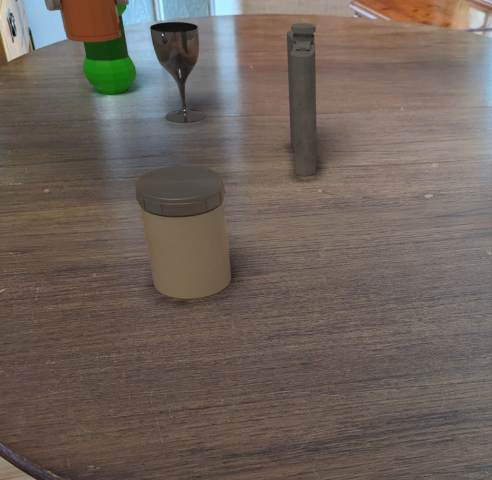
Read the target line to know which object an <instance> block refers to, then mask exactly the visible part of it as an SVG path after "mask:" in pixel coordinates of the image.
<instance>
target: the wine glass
mask: <svg viewBox="0 0 492 480" xmlns="http://www.w3.org/2000/svg"><path fill="white" fill-rule="evenodd" d="M149 31H150V37H151V43H152V46H153V50H154V53H155V55H156V56H155V57H156V59H157V61H158V63H159V64H160V65H161V67H162V68H163V69H164V70H166V72H167V73H168V74H169V75H170V76H171V77H172V78H173V80H174V81H175V83H176V86H177V88H178V92H179V96H180V103H181V109H178V110H173V111H170V112H167V113H166V114H165V116H164V118H165V119H166V120H167V121H170V122H174V123H194V122H198V121H201V120H203V119H205V117H206V114H205V112H203V111H201V110H198V109H197V110H196V109H189V108H188V107H187V102H186V82H187V80H188V77H189V76H190V75H191V73H192V71H193V70H194V68H195V67H196V65H197V63H198V60H199V57H200V56H199V55H200V34H199V33H200V32H199V26H198V25H197V24H195V23H191V22H184V21H165V22H158V23H155V24H152V25H150V26H149Z"/></svg>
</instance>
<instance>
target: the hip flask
mask: <svg viewBox="0 0 492 480" xmlns="http://www.w3.org/2000/svg"><path fill="white" fill-rule="evenodd" d="M316 29H317V26H316V25H315V24H313V23H308V22H296V23H292V24H290V30H288V31H287V32H286V51H287V52H286V53H287V54H286V55H287V77H288V79H287V81H288V83H287V84H288V104H289V105H288V106H289V107H288V109H289V133H290V145H291V146H292V148H293V161H294V163H293V164H294V166H293V167H294V174H295V175H296V176H298V177H311V176H314V175H315V174H316V171H317V168H318V167H317V166H318V146H317V145H318V144H317V143H318V142H317V139H318V138H317V137H318V136H317V135H318V134H317V85H316V84H317V81H316V80H317V77H316V73H317V72H316V71H317V70H316V44H315V40H316V39H315V34H314V33H316V32H317V30H316Z"/></svg>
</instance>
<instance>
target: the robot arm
mask: <svg viewBox="0 0 492 480" xmlns="http://www.w3.org/2000/svg"><path fill="white" fill-rule="evenodd" d="M60 1H61V0H44V4H45V7H46V9H47V10H48V11H49V12H53V11H60V10H62V9H63V7H62V4H61V2H60ZM129 4H130V1H129V0H116V5H126V6H128V5H129Z"/></svg>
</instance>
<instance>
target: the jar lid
mask: <svg viewBox="0 0 492 480" xmlns="http://www.w3.org/2000/svg"><path fill="white" fill-rule="evenodd" d="M134 188H135V197H136V202H137V203H138V205H139V207H140V206H141V207H142V208H143V209H144V210H146V211H148V212H151V213H155V214H159V215H166V216H187V215H193V214H199V213H203V212H206V211H209V210H211V209H213V208H215V207H217V206H218V205H220V204H221V203H222V201H223V200H224V201H225V194H226V191H225V183H224V179H223V176H222V175H221V174H220V173H218V172H217V171H215V170H212V169H209V168H207V167H201V166H194V165H175V166H174V165H173V166H167V167H166V166H165V167H160V168H157V169H154V170H151V171H148V172H146V173H143V174H142V175H141V176H139V177H138V178H137V180H136V181H135V184H134Z"/></svg>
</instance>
